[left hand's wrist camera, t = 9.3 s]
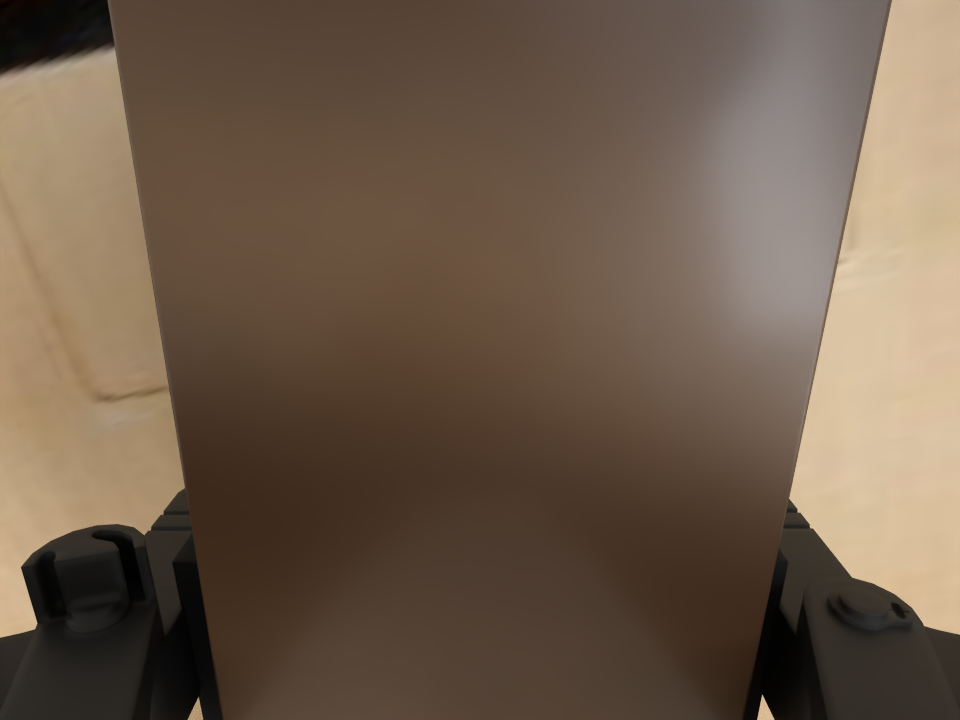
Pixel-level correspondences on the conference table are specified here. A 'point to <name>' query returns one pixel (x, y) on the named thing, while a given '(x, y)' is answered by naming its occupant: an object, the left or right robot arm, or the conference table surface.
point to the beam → (491, 335)
